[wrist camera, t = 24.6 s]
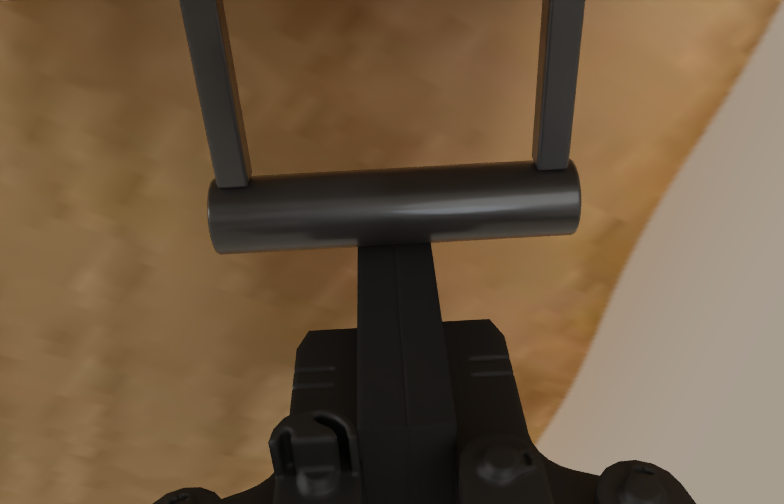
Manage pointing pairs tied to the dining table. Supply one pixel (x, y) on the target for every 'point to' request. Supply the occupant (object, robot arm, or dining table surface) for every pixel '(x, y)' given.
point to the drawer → (393, 185)
